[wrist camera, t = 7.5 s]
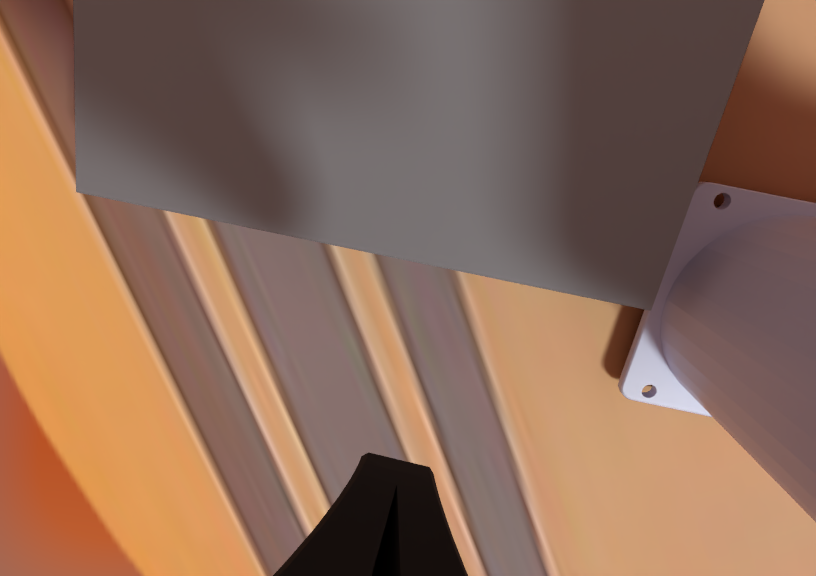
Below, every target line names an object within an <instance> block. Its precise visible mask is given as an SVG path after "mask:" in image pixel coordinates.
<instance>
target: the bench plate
mask: <svg viewBox="0 0 816 576" xmlns="http://www.w3.org/2000/svg"><path fill="white" fill-rule="evenodd" d="M763 3H764V0H73V22H74V82H75V143H76V192H79V193H83V194H88V195H93V196H98V197H103V198H108V199H112V200H117V201H122V202H127V203H132V204H137V205H142V206H146V207H151V208H156V209H161V210H166V211H171V212H175V213H180V214H185V215H190V216H195V217H200V218H204V219H209V220H214V221H219V222H224V223H229V224H234V225H238V226H243V227H248V228H253V229H258V230H263V231H267V232H272V233H277V234H282V235H287V236H292V237H296V238H301V239H306V240H311V241H316V242H321V243H326V244H330V245H335V246H340V247H345V248H350V249H355V250H359V251H364V252H369V253H374V254H379V255H384V256H388V257H393V258H398V259H403V260H408V261H413V262H417V263H422V264H427V265H432V266H437V267H442V268H447V269H451V270H456V271H461V272H466V273H471V274H476V275H480V276H485V277H490V278H495V279H500V280H505V281H509V282H514V283H519V284H524V285H529V286H534V287H539V288H543V289H548V290H553V291H558V292H563V293H568V294H572V295H577V296H582V297H587V298H592V299H597V300H601V301H606V302H611V303H616V304H621V305H626V306H631V307H635V308H640V309H645V310H650V311H651V309H652V307H653V304H654V301H655V298H656V296H657V293H658V290H659V288H660V285H661V282H662V279H663V277H664V274H665V271H666V268H667V266H668V263H669V260H670V257H671V255H672V252H673V249H674V246H675V244H676V241H677V238H678V236H679V233H680V230H681V227H682V225H683V222H684V219H685V216H686V214H687V211H688V208H689V205H690V203H691V200H692V197H693V194H694V192H695V189H696V186H697V184H698V181H699V178H700V175H701V173H702V170H703V167H704V164H705V162H706V159H707V156H708V153H709V151H710V148H711V145H712V142H713V140H714V137H715V134H716V132H717V129H718V126H719V123H720V121H721V118H722V115H723V112H724V110H725V107H726V104H727V101H728V99H729V96H730V93H731V90H732V88H733V85H734V82H735V80H736V77H737V74H738V71H739V69H740V66H741V63H742V60H743V58H744V55H745V52H746V49H747V47H748V44H749V41H750V38H751V36H752V33H753V30H754V27H755V25H756V22H757V19H758V17H759V14H760V11H761V8H762V6H763Z"/></svg>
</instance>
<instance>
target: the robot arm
mask: <svg viewBox="0 0 816 576" xmlns="http://www.w3.org/2000/svg"><path fill="white" fill-rule="evenodd" d="M720 193H722V194H723V196H724V202H723V203H722V205H721V206H719V207H717V208H715V206H714V199H715V197H716V196H717V195H719V194H720ZM647 385H652V388H651V390H650V391H648V392H642V389H643V388H644V387H645V386H647ZM618 387H619V390H620V392H621V393H622V394H623V395H624V396H625V397H626V398H628V399H630V400H634V401H639V402H644V403H648V404H653V405H658V406H663V407H667V408H672V409H677V410H682V411H686V412H691V413H696V414H700V415H705V416H710V417H713V418H714V419H715V420H716V421H717V422H718V423H719V424H720V425H721V426H722V427H723V428H724V429H725V430H726V431H727V432H728V433H729V434H730V435H731V436H732V437H733V438H734V439H735V440H736V441H737V442H738V443H739V444H740V445H741V446H742V447H743V448H744V449H745V450H746V451H747V452H748V453H749V454H750V455H751V456H752V457H753V458H754V459H755V460H756V461H757V463H758V464H759V465H760V466H761V467H762V468H763V469H764V470H765V471H766V472H767V473H768V474H769V475H770V476H771V477H772V478H773V479H774V480H775V481H776V482H777V483H778V484H779V485H780V486H781V487H782V488H783V489H784V490H785V491H786V492H787V493H788V494H789V495H790V496H791V497H792V498H793V499H794V500H795V501H796V502H797V503H798V504H799V505H800V506H801V507H802V508H803V509H804V510H805V511H806V512H807V513H808V515H809V516H810V517H811V518H812V519H813V520H814V521H815V522H816V203H813V202H807V201H802V200H797V199H792V198H787V197H782V196H777V195H772V194H767V193H762V192H757V191H752V190H747V189H742V188H737V187H732V186H727V185H722V184H717V183H712V182H699V183H698V184H697V186H696V189H695V192H694V194H693V197H692V200H691V203H690V205H689V208H688V211H687V214H686V216H685V219H684V222H683V225H682V227H681V230H680V233H679V236H678V238H677V241H676V244H675V246H674V249H673V252H672V255H671V257H670V260H669V263H668V266H667V268H666V271H665V274H664V277H663V279H662V282H661V285H660V288H659V290H658V293H657V296H656V298H655V301H654V304H653V307H652V309H651V311H650V310H644V313H643V315H642V318H641V321H640V324H639V327H638V329H637V332H636V335H635V338H634V340H633V343H632V346H631V349H630V351H629V354H628V357H627V360H626V363H625V365H624V368H623V371H622V374H621V376H620V379H619V383H618ZM273 576H468V574H467V572H466V570H465V567H464V565H463V562H462V560H461V557H460V554H459V552H458V549H457V547H456V544H455V542H454V539H453V537H452V534H451V531H450V528H449V525H448V522H447V519H446V516H445V513H444V510H443V507H442V504H441V501H440V498H439V494H438V491H437V487H436V483H435V479H434V474H433V472H432V471H431V469H430V467H427V466H422V465H418V464H414V463H410V462H406V461H401V460H397V459H393V458H389V457H385V456H381V455H376V454H372V453H367V454H365V455H363V456H362V457H361V459H360V462H359V464H358V466H357V468H356V470H355V472H354V474H353V475H352V477H351V479H350V480H349V482H348V484H347V485H346V487H345V488H344V490H343V491H342V493H341V494H340V496H339V497H338V498H337V500H336V501H335V502H334V504H333V505H332V506H331V508H330V509H329V510H328V512H327V513H326V514H325V516H324V517H323V518H322V520H321V521H320V522H319V524H318V525H317V526H316V527H315V529H314V530H313V531H312V532H311V533H310V535H309V536H308V537H307V538H306V539H305V540H304V542H303V543H302V544H301V545H300V546H299V547H298V548H297V550H296V551H295V552H294V553H293V554H292V555H291V556H290V558H289V559H288V560H287V561H286V562H285V563H284V564H283V565H282V567H281V568H280V569H279V570H278V571H277V572H276V573H275V574H274V575H273Z"/></svg>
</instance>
